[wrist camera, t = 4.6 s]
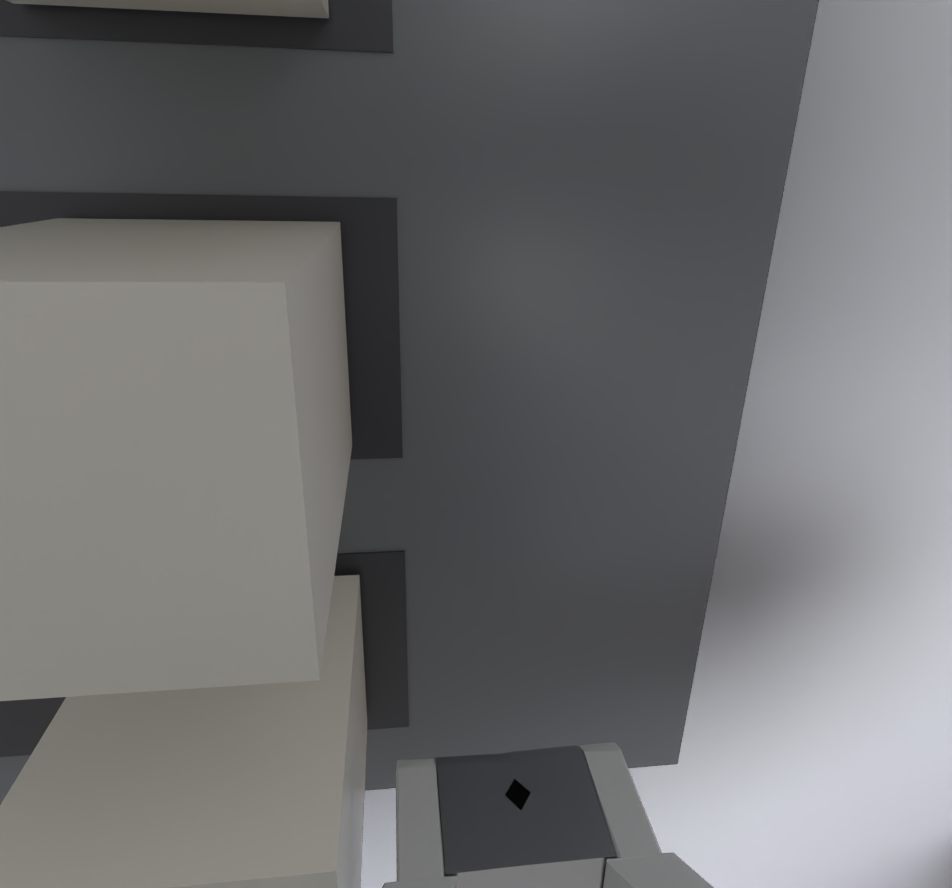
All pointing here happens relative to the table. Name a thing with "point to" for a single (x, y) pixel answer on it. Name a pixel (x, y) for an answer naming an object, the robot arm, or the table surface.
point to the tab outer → (201, 782)
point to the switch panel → (472, 311)
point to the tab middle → (169, 453)
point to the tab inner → (205, 6)
